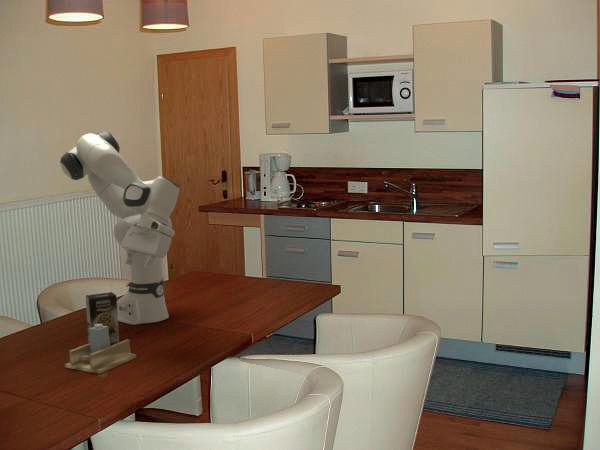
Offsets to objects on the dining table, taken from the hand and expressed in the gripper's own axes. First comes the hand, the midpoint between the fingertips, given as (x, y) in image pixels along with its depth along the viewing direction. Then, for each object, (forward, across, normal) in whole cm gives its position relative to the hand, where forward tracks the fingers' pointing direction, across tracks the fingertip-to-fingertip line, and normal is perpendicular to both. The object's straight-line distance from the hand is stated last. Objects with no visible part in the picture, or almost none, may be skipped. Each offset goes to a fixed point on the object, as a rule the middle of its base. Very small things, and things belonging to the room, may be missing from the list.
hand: (136, 266), depth 236 cm
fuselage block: (+30, +1, -1) cm, 30 cm away
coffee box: (+26, -16, +10) cm, 33 cm away
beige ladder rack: (+31, +1, 0) cm, 31 cm away
